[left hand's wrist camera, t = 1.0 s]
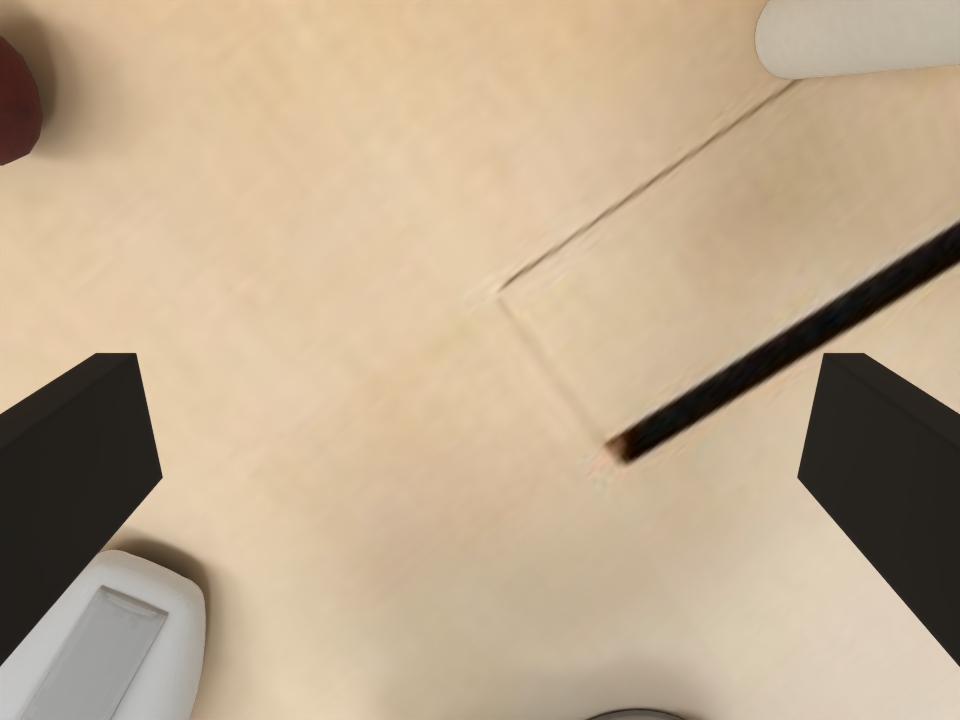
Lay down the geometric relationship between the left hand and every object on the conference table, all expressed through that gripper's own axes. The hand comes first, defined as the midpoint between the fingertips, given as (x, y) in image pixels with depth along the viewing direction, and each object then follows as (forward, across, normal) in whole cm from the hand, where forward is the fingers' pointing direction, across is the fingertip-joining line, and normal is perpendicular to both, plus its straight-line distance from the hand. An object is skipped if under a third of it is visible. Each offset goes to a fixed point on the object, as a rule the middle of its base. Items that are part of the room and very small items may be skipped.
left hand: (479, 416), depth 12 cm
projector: (+28, +30, +35) cm, 54 cm away
